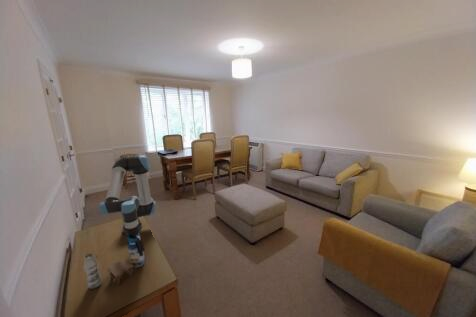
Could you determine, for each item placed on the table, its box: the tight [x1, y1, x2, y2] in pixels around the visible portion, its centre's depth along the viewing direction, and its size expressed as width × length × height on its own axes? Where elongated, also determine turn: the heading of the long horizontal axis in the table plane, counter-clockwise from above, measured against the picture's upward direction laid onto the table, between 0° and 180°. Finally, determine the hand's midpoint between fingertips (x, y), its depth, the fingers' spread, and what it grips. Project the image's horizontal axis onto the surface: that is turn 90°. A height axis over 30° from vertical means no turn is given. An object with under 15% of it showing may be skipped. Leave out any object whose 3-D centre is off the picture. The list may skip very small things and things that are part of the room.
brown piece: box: [106, 257, 134, 286], centre depth 118 cm, size 10×10×7 cm
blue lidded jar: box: [127, 232, 146, 268], centre depth 124 cm, size 8×8×20 cm
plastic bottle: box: [83, 253, 103, 290], centre depth 111 cm, size 6×7×20 cm
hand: (137, 257), depth 126 cm, fingers closed on blue lidded jar, 8 cm apart
